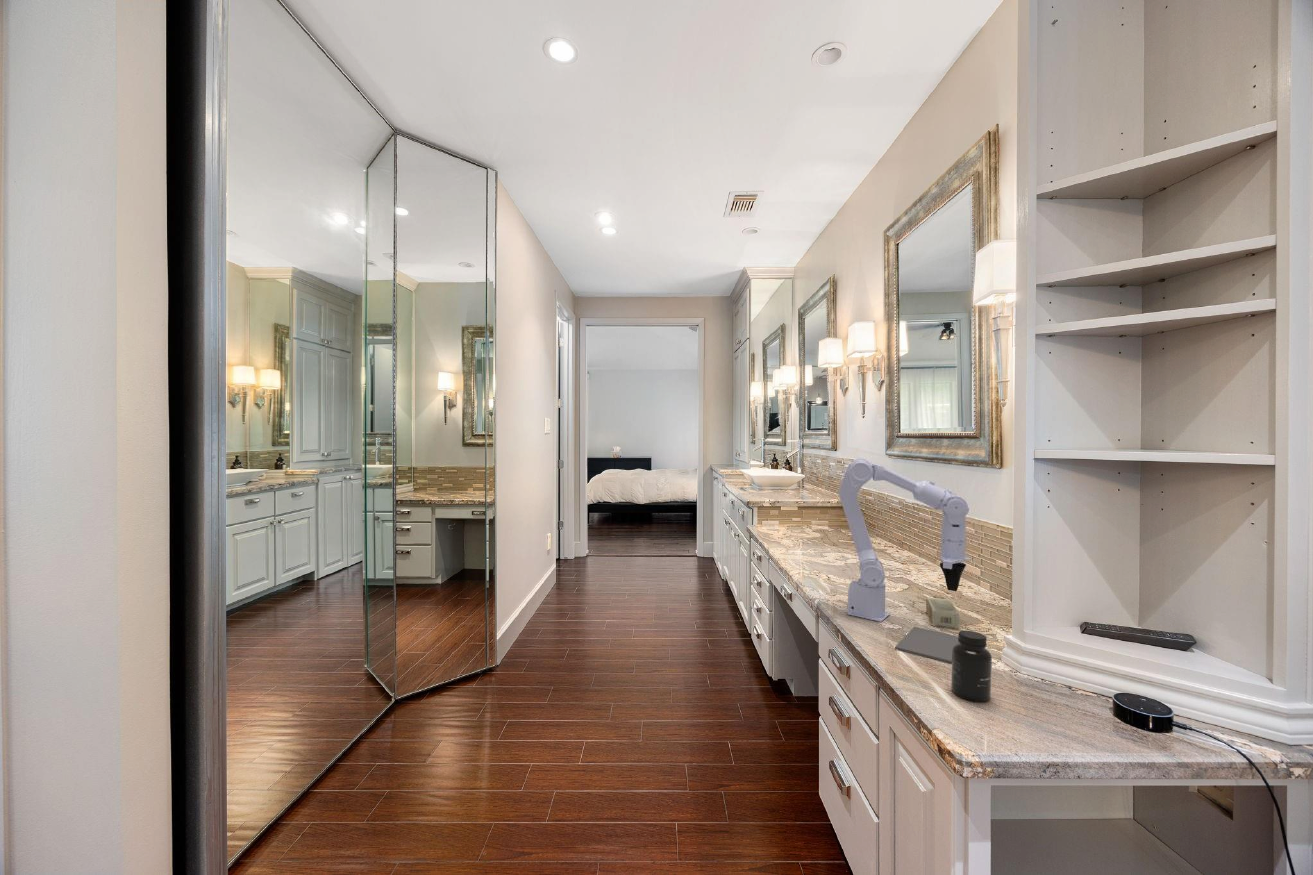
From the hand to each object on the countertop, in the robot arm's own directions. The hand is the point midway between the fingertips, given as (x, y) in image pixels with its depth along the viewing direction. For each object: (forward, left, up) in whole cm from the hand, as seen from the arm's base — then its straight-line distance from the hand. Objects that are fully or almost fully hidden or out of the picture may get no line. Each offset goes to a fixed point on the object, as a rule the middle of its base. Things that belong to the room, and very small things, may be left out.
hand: (952, 590), depth 145 cm
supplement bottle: (+11, -40, -10) cm, 43 cm away
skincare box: (-1, -4, -7) cm, 8 cm away
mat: (0, -18, -9) cm, 21 cm away
